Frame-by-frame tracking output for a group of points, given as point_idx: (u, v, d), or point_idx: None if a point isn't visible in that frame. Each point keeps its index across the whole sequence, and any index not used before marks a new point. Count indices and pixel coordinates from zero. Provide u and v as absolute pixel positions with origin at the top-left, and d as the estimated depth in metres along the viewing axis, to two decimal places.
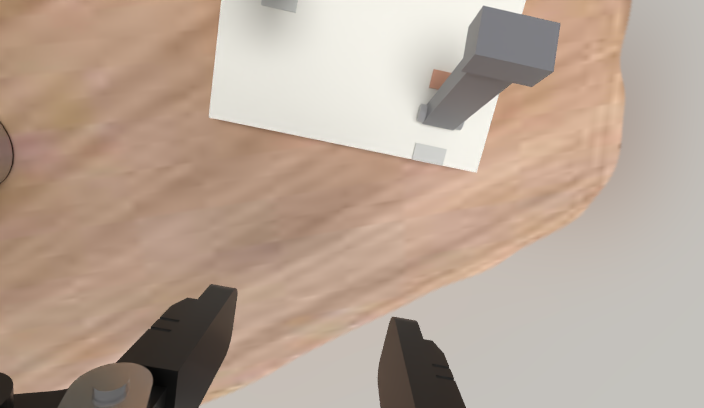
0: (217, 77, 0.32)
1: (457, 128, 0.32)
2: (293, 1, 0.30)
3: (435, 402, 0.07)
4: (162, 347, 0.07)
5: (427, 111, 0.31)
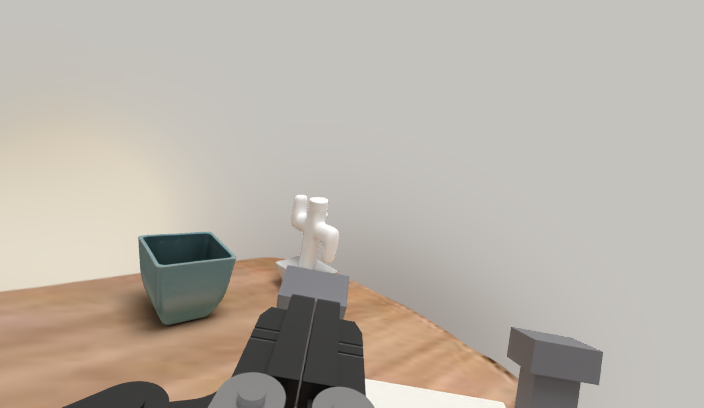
0: None
1: None
2: None
3: (326, 374, 0.07)
4: (276, 357, 0.07)
5: None
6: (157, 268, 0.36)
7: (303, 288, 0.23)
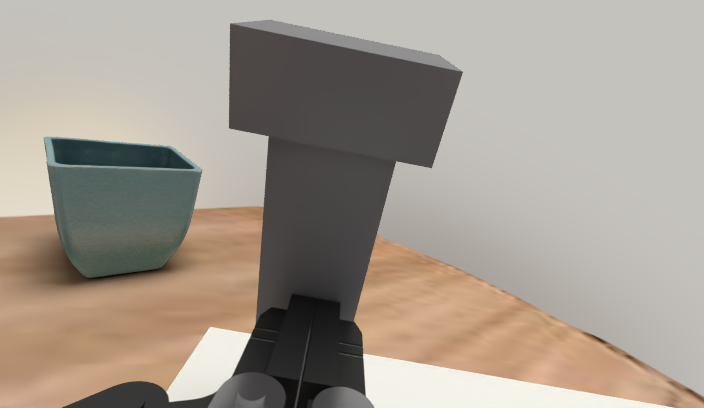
0: None
1: None
2: None
3: (326, 374, 0.07)
4: (276, 357, 0.07)
5: None
6: (50, 168, 0.20)
7: (316, 36, 0.07)
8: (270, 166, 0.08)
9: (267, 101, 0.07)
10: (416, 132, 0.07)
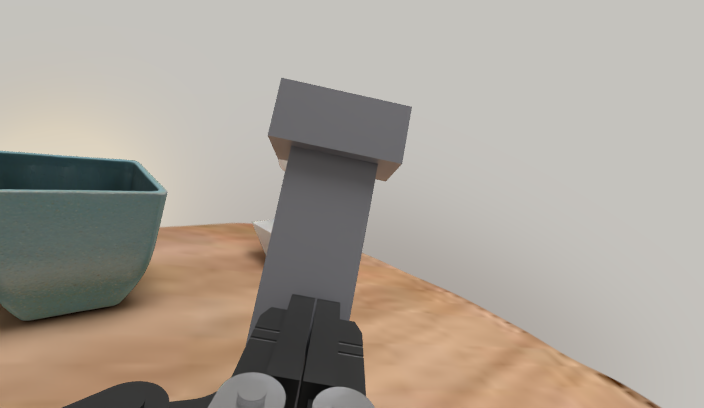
0: None
1: None
2: None
3: (326, 374, 0.07)
4: (276, 357, 0.07)
5: None
6: None
7: None
8: (287, 174, 0.12)
9: (296, 119, 0.11)
10: (389, 140, 0.11)
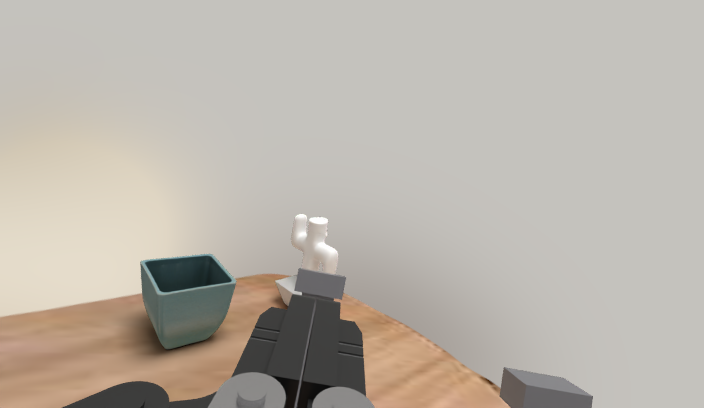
0: None
1: None
2: None
3: (326, 374, 0.07)
4: (276, 357, 0.07)
5: None
6: (159, 296, 0.37)
7: (314, 271, 0.33)
8: None
9: (304, 284, 0.32)
10: (337, 290, 0.32)
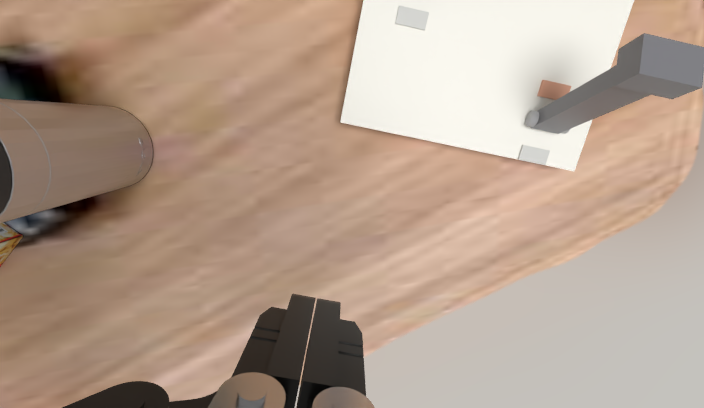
0: (350, 87, 0.36)
1: (563, 132, 0.36)
2: (424, 20, 0.34)
3: (326, 374, 0.07)
4: (276, 357, 0.07)
5: (540, 117, 0.35)
6: None
7: None
8: None
9: None
10: None
